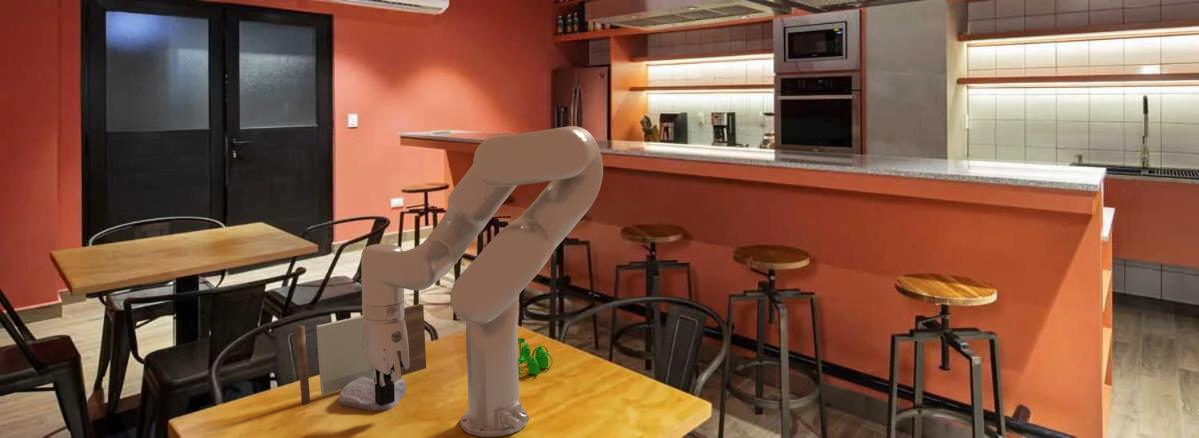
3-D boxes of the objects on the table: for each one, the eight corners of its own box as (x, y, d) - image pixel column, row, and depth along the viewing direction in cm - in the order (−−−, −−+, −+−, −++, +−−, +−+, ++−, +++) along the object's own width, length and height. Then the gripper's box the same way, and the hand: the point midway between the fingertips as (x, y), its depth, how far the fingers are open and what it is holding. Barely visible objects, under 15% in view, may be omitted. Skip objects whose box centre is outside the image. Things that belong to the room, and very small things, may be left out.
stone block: (392, 420, 136) (409, 390, 145) (388, 399, 134) (406, 371, 144) (335, 420, 137) (356, 391, 146) (330, 400, 136) (351, 371, 145)
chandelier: (497, 356, 167) (496, 328, 166) (558, 358, 165) (558, 330, 164) (479, 379, 152) (478, 349, 151) (546, 382, 150) (545, 352, 149)
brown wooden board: (427, 368, 158) (424, 300, 156) (304, 405, 138) (298, 328, 136) (422, 366, 160) (419, 299, 157) (300, 402, 140) (294, 326, 137)
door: (387, 373, 153) (384, 310, 151) (390, 375, 152) (386, 311, 150) (320, 393, 142) (316, 325, 140) (323, 394, 142) (318, 327, 139)
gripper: (422, 315, 126) (423, 410, 129) (382, 298, 136) (384, 386, 139) (384, 323, 121) (386, 421, 124) (346, 305, 131) (348, 395, 134)
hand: (385, 402), depth 132 cm, fingers closed
